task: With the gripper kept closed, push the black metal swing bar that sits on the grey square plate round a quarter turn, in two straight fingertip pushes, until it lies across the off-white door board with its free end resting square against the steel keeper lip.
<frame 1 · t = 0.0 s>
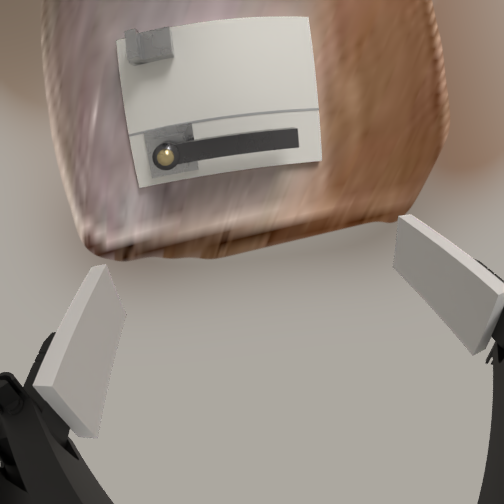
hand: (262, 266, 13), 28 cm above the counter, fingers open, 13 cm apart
keeper: (152, 48, 29), resting on door board
door board: (221, 94, 34), on the counter
grey square plate: (171, 150, 35), resting on door board
latch bar: (225, 145, 32), point 5 cm above the counter, hinge at 0.0°
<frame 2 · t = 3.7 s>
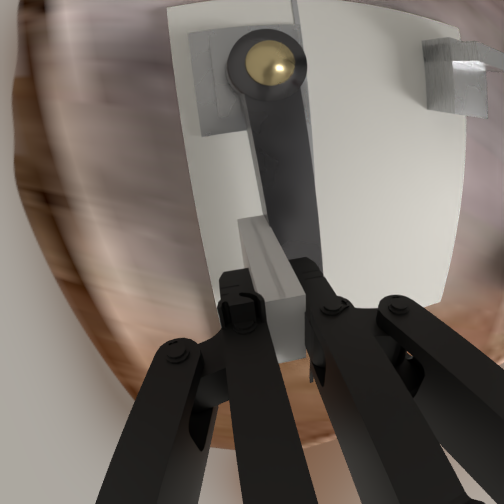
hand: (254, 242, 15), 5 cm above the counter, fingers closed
keeper: (442, 77, 15), resting on door board
door board: (350, 180, 19), on the counter
grey square plate: (250, 76, 14), resting on door board
latch bar: (290, 213, 13), point 5 cm above the counter, hinge at 4.3°, touching gripper
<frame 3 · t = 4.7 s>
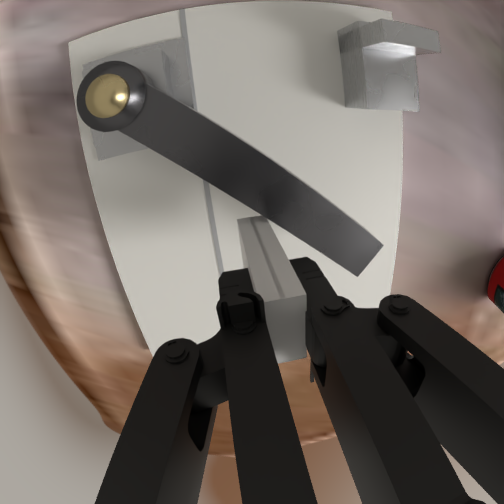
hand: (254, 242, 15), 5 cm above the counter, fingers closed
keeper: (367, 69, 15), resting on door board
beverage can: (500, 272, 26), on the counter
door board: (257, 191, 19), on the counter
grey square plate: (139, 98, 14), resting on door board
latch bar: (242, 170, 13), point 6 cm above the counter, hinge at 48.7°, touching gripper
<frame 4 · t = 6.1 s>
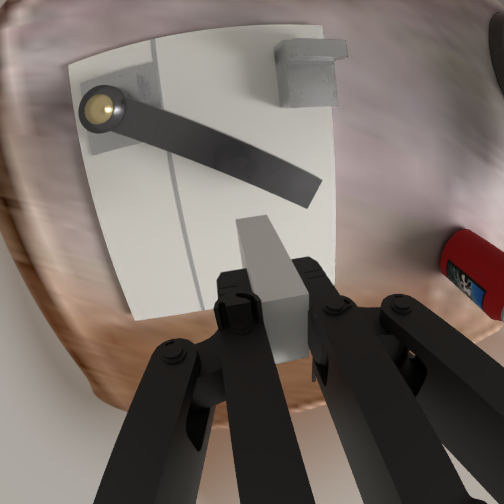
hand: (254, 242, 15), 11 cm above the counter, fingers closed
keeper: (298, 76, 20), resting on door board
beverage can: (453, 249, 32), on the counter
door board: (213, 177, 24), on the counter
grey square plate: (122, 108, 19), resting on door board
latch bar: (200, 142, 17), point 5 cm above the counter, hinge at 57.9°
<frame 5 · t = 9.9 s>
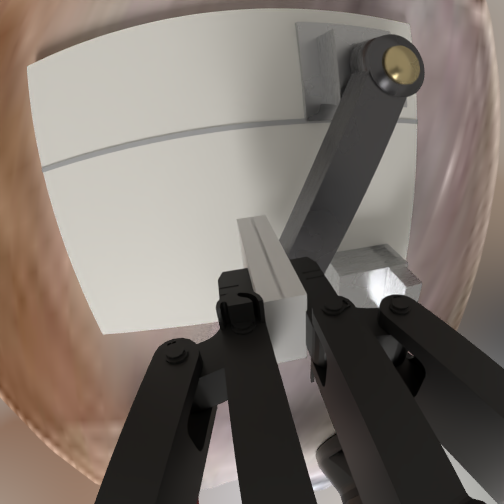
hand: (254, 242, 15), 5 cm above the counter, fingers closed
keeper: (355, 269, 21), resting on door board
door board: (238, 174, 18), on the counter
grey square plate: (348, 71, 15), resting on door board
latch bar: (337, 188, 13), point 5 cm above the counter, hinge at 63.0°, touching gripper
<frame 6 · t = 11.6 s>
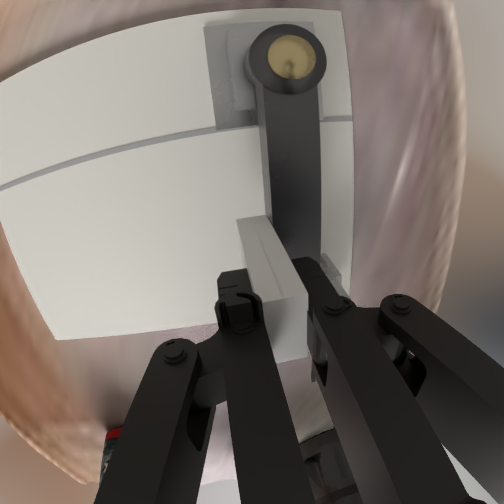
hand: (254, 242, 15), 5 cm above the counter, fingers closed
keeper: (290, 281, 21), resting on door board
beverage can: (133, 434, 30), on the counter
door board: (157, 188, 18), on the counter
grey square plate: (264, 71, 14), resting on door board
latch bar: (293, 208, 13), point 5 cm above the counter, hinge at 88.5°, touching gripper
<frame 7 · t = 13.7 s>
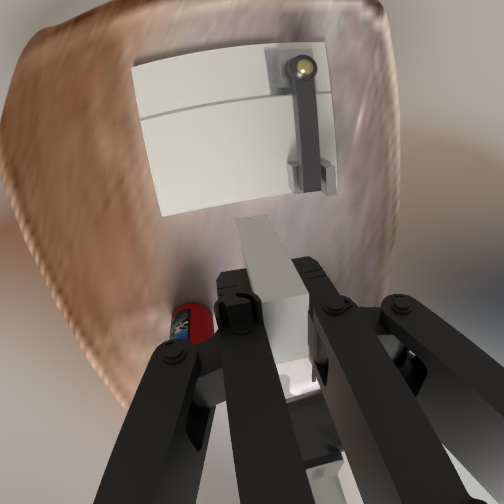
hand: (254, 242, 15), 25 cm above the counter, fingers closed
keeper: (305, 172, 39), resting on door board
beverage can: (192, 316, 48), on the counter
door board: (240, 123, 35), on the counter
grey square plate: (291, 71, 32), resting on door board
latch bar: (307, 123, 31), point 5 cm above the counter, hinge at 88.5°
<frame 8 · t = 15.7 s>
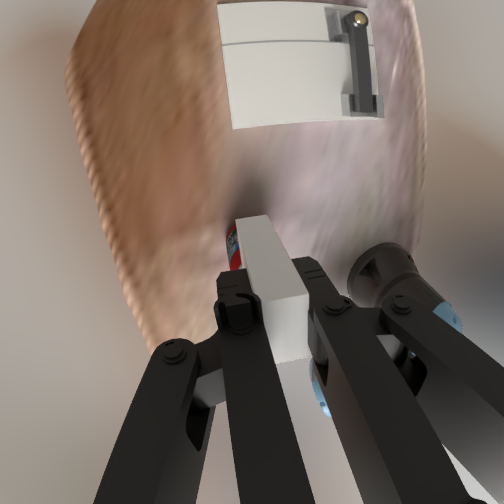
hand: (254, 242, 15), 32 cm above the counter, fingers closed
keeper: (355, 104, 42), resting on door board
beverage can: (245, 237, 51), on the counter
door board: (304, 59, 38), on the counter
grey square plate: (344, 26, 35), resting on door board
latch bar: (361, 60, 34), point 5 cm above the counter, hinge at 88.5°
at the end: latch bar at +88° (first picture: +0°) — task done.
